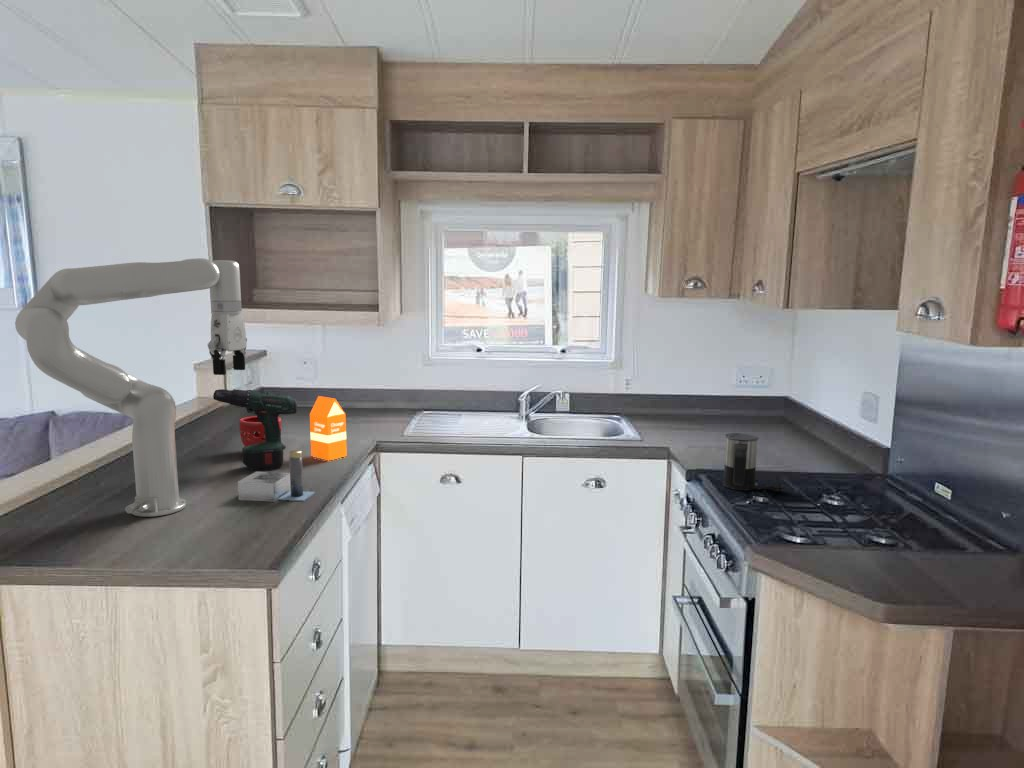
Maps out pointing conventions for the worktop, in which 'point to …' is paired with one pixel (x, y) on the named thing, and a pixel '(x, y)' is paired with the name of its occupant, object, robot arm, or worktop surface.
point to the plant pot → (252, 430)
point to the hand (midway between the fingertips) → (229, 372)
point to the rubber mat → (301, 498)
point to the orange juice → (328, 429)
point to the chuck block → (264, 486)
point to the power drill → (267, 414)
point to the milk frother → (742, 463)
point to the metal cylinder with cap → (296, 473)
